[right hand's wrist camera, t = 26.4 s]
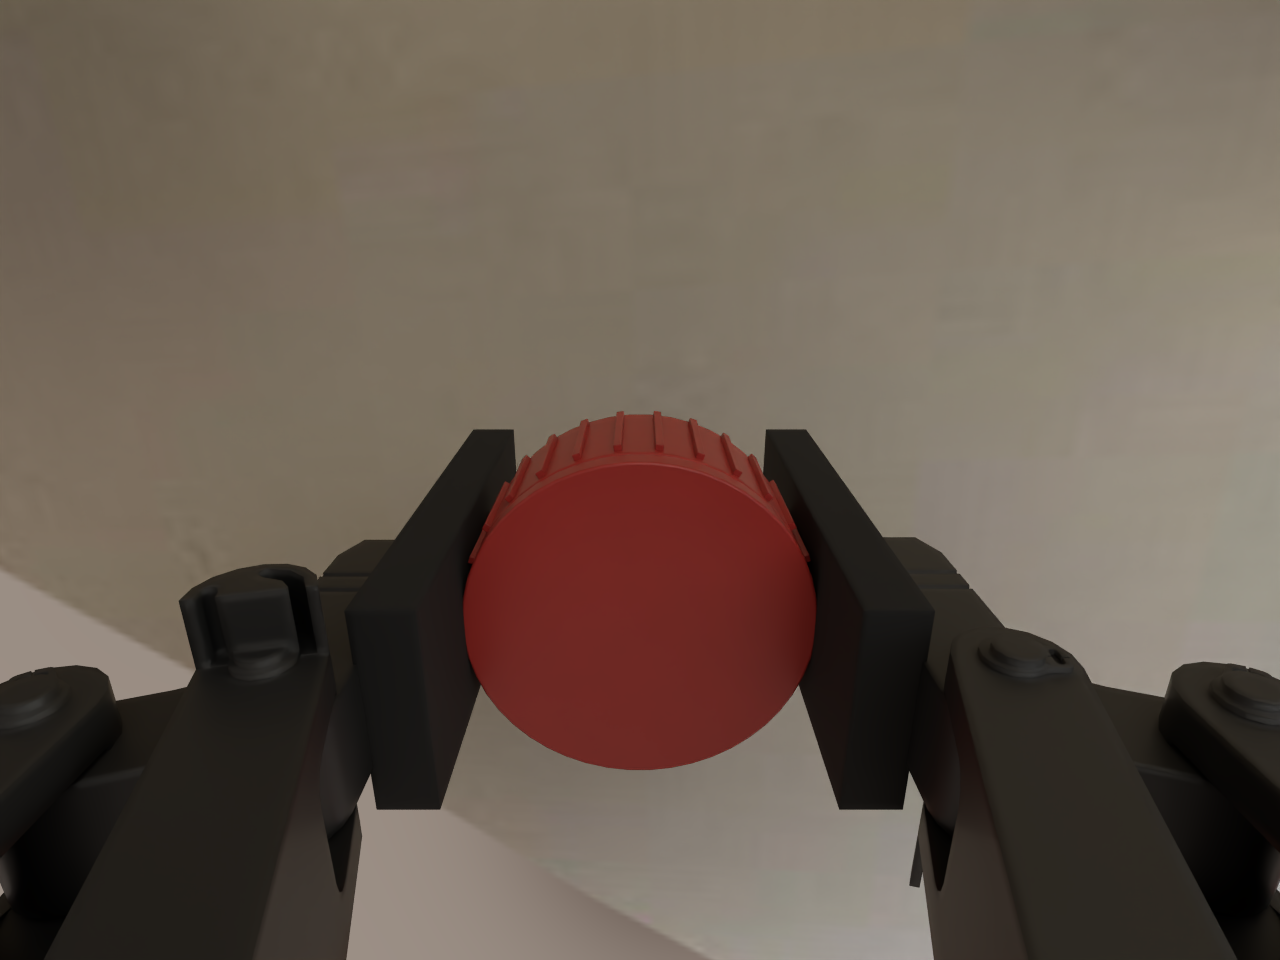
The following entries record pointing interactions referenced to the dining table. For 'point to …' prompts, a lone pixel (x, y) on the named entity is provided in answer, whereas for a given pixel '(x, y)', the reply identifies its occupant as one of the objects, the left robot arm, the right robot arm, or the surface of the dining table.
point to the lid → (639, 595)
